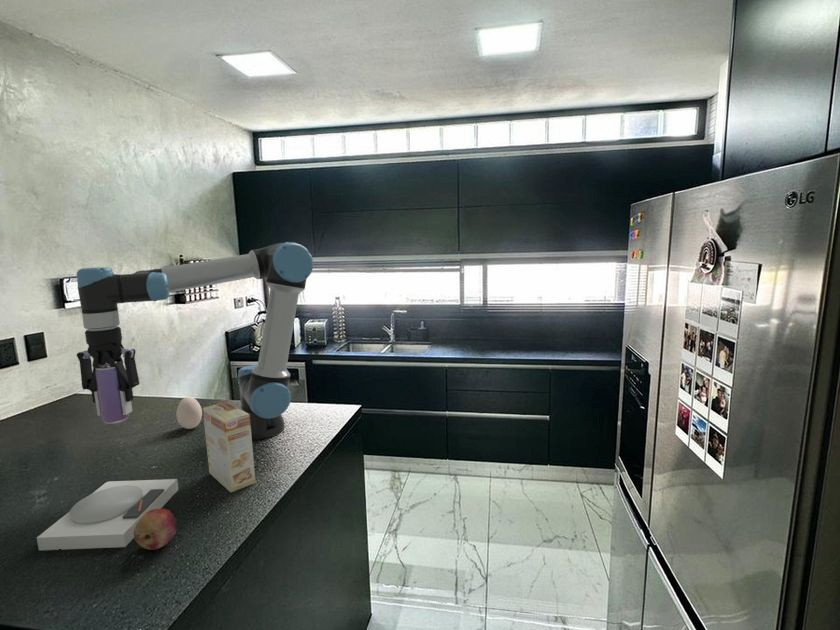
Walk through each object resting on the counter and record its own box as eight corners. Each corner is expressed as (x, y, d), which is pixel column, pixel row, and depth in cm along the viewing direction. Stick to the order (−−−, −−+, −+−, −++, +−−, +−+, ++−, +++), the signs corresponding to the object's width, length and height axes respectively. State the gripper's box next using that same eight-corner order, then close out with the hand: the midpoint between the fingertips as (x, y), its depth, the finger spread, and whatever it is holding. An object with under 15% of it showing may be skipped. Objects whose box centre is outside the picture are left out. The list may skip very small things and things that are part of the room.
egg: (208, 425, 155) (205, 395, 154) (187, 434, 148) (184, 402, 147) (194, 422, 159) (190, 392, 157) (173, 430, 152) (169, 399, 150)
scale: (178, 489, 115) (176, 475, 114) (125, 547, 93) (122, 529, 92) (108, 492, 114) (106, 478, 114) (38, 550, 92) (35, 533, 92)
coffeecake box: (256, 482, 117) (250, 413, 114) (230, 493, 112) (222, 422, 109) (233, 464, 128) (227, 400, 124) (208, 473, 123) (201, 407, 119)
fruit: (129, 550, 92) (124, 515, 91) (166, 529, 98) (162, 497, 97) (149, 563, 88) (144, 527, 87) (186, 541, 94) (182, 507, 93)
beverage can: (115, 425, 113) (107, 369, 110) (96, 423, 114) (88, 368, 111) (135, 416, 118) (127, 362, 116) (116, 415, 120) (109, 362, 117)
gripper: (148, 324, 116) (159, 406, 120) (76, 326, 116) (89, 409, 119) (130, 329, 109) (142, 417, 112) (53, 331, 108) (68, 420, 112)
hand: (115, 413), depth 116 cm, fingers closed on beverage can, 6 cm apart
